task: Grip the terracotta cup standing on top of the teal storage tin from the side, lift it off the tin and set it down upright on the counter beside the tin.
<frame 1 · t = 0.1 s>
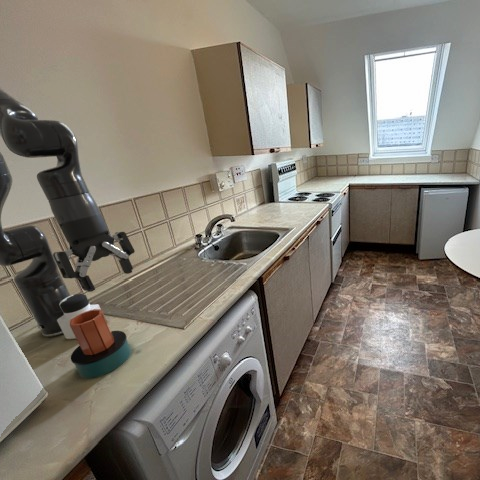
hand: (111, 281, 64), 22 cm above the table, tool pointing down, fingers open, 8 cm apart
medicine bottle: (87, 331, 82), on the table
terracotta cup: (99, 345, 68), point 5 cm above the table, touching teal tin
teal tin: (106, 360, 70), on the table, touching terracotta cup
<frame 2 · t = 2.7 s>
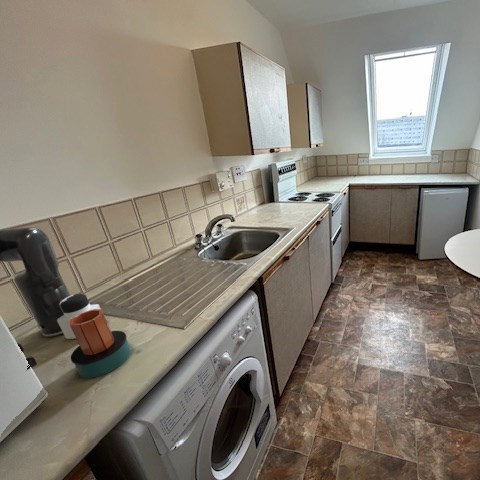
hand: (28, 352, 57), 12 cm above the table, tool horizontal, fingers open, 8 cm apart
nothing on the table moved.
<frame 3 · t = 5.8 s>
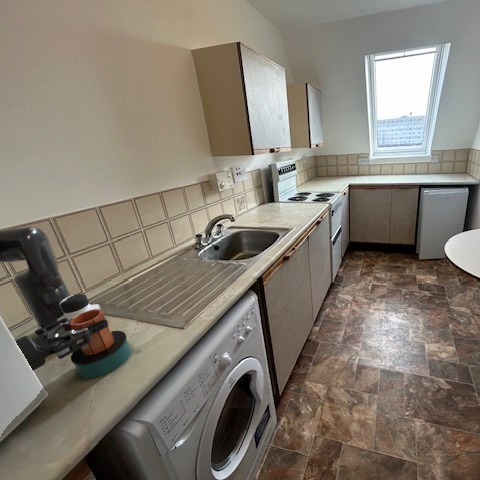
hand: (99, 318, 67), 12 cm above the table, tool horizontal, fingers closed on terracotta cup, 6 cm apart
terracotta cup: (99, 345, 68), point 5 cm above the table, touching gripper, teal tin
everything else where it was.
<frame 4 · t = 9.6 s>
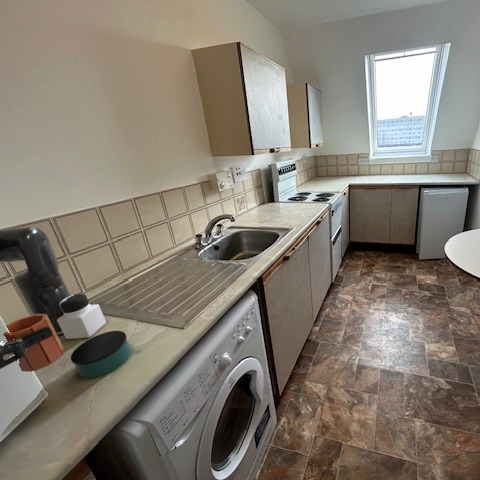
hand: (44, 325, 54), 19 cm above the table, tool horizontal, fingers closed on terracotta cup, 6 cm apart
terracotta cup: (44, 359, 55), point 12 cm above the table, touching gripper
teal tin: (106, 360, 70), on the table
everything else where it was.
when the fingers open (7 cm above the table, at t = 13.5 s): terracotta cup stays where it is, on the table.
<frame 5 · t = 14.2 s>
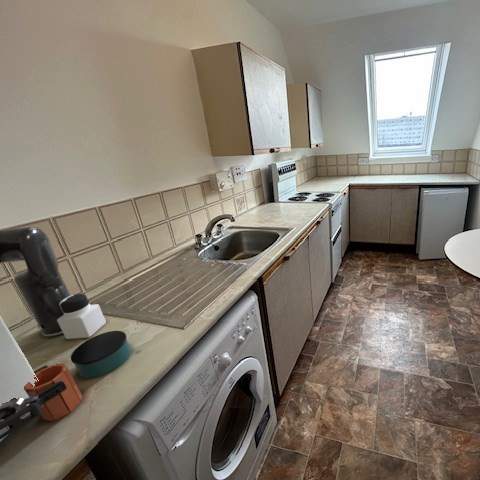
hand: (56, 376, 56), 8 cm above the table, tool horizontal, fingers open, 8 cm apart
terracotta cup: (63, 406, 58), on the table
everything else where it was.
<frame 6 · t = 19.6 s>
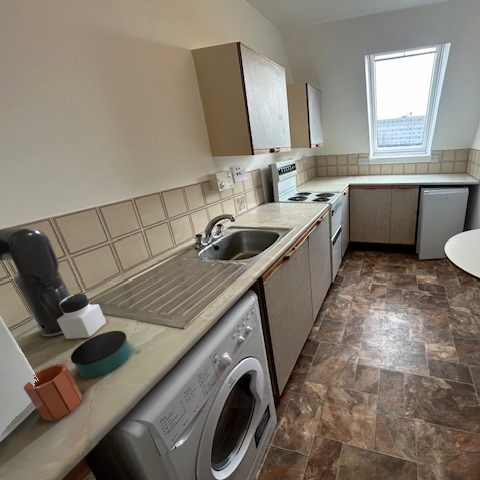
nothing on the table moved.
at the end: terracotta cup inside the target area (0.1 cm from its centre), on the table; terracotta cup tilted 0°; teal tin moved 0.0 cm from its start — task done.
